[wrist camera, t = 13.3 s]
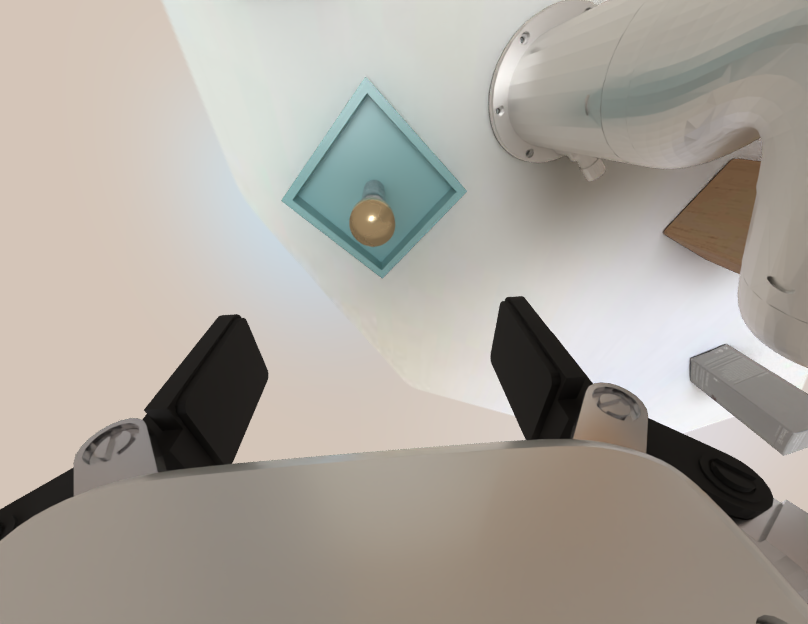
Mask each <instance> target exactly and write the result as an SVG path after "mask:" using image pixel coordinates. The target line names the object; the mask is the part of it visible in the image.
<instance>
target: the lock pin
mask: <svg viewBox="0 0 808 624" xmlns="http://www.w3.org/2000/svg"><path fill="white" fill-rule="evenodd" d="M349 226H350V230H351V233H352V235H353V236H354V238H355V239H356V240H357V241H358V242H360V243H361V244H363V245H366V246H370V247H376V246H381V245H383V244H385V243H386V242H388V241H389V240H390V238H391V237H392V236H393V234H394V231H395V218H394V213H393V211H392V209H391V207H390V206H389V205H388V204H387V203H386V199H385V189H384V186H383V184H382V183H381V182H379V181H377V180H370V181H368V182H367V183H366V184H365V186H364V190H363V195H362V200H360V201H359V202H358V203H357V204H356V205H355V206H354V207H353V209H352V212H351V215H350V220H349Z"/></svg>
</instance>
